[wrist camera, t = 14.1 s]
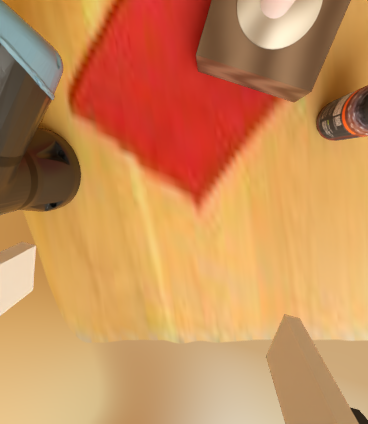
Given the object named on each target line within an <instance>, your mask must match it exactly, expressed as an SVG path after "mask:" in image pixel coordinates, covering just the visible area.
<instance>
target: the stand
mask: <svg viewBox="0 0 368 424" xmlns="http://www.w3.org/2000/svg"><path fill="white" fill-rule="evenodd" d="M260 1H261V0H212V1H211V5H210V8H209V11H208V15H207V18H206V22H205V25H204V29H203V32H202V36H201V39H200V43H199V46H198V49H197V53H196V59H197V66H198V71H199V72H202V73H205V74H208V75H211V76H214V77H217V78H220V79H223V80H226V81H230V82H233V83H236V84H239V85H242V86H245V87H248V88H251V89H254V90H257V91H261V92H264V93H267V94H270V95H273V96H276V97H279V98H282V99H285V100H288V101H291V102H296V101H297V100H299V99H301V98H302V97H304V96H305V95H307V94H308V93H310V92H311V91H312V89H313V86H314V84H315V82H316V79H317V77H318V75H319V72H320V70H321V68H322V66H323V63H324V61H325V59H326V56H327V54H328V52H329V49H330V47H331V45H332V42H333V40H334V38H335V35H336V33H337V31H338V29H339V26H340V24H341V22H342V19H343V17H344V15H345V12H346V10H347V8H348V5H349V3H350V1H351V0H296V1H295V2H294V3H293V4H292V6H291V7H290V8H289V10H288V11H287V12H286V13H285V14H284V15H283V16H281V17H279V18H275V19H273V18H269V17H267V16H266V15H264V13H263V12H262V10H261V5H260Z"/></svg>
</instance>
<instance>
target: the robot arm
mask: <svg viewBox="0 0 368 424" xmlns="http://www.w3.org/2000/svg"><path fill="white" fill-rule="evenodd" d="M62 73H63V63H62V60H61V57H60V55H59V54H58V52H57V51H56V50H55V49H54V48H53V47H52V46H51V45H50V44H49V43H48V42H47V41H46V40H45V39H44V38H43V37H42V36H41V35H40V34H39V33H37V32H36V31H35V30H34V29H33V28H32V27H31V26H30V25H29V24H28V23H26V22H25V21H24V20H23V19H22V18H21V17H20V16H19V15H18V14H17V13H15V12H14V11H13V10H12V9H11V8H10V7H9V6H8V5H7V4H5V3H4V2H3V1H2V0H0V215H2V214H5V213H9V212H12V211H16V210H28V211H51V210H54V209H57V208H60V207H62V206H64V205H66V204H68V203H69V202H70V201H71V200H72V199H73V198H74V196H75V195H76V193H77V191H78V188H79V185H80V178H81V173H80V166H79V162H78V159H77V157H76V155H75V153H74V151H73V149H72V148H71V147H70V145H69V144H68V143H67V142H66V141H65V140H64V139H63V138H62V137H60V136H59V135H57V134H56V133H54V132H51V131H49V130H46V129H40V128H38V126H39V124H40V122H41V120H42V118H43V116H44V114H45V112H46V110H47V108H48V106H49V104H50V102H51V100H54V97H55V96H54V93H55V90H56V87H57V85H58V83H59V80H60V78H61V76H62ZM35 252H36V245H32V244H29V243H25V242H21V243H18V244H17V245H14V246H12V247H10V248H8V249H5V250H3V251H1V252H0V315H2V314H3V313H4V312H6V311H7V310H8V309H9V308H11V307H12V306H13V305H14V304H16V303H17V302H18V301H20V300H21V299H22V298H24V297H25V296H26V295H27V294H29V293H30V292H31V291H32V290H33V282H34V266H35ZM266 358H267V362H268V365H269V368H270V372H271V376H272V379H273V383H274V386H275V389H276V393H277V396H278V400H279V403H280V407H281V410H282V414H283V417H284V420H285V424H368V420H367V419H366V417H365V416H364V415H363V414H362V413H361V412H360V411H359V410H357V409H353V408H350V407H349V405H348V404H347V402H346V400H345V398H344V396H343V395H342V393H341V391H340V389H339V388H338V386H337V384H336V382H335V381H334V379H333V377H332V375H331V373H330V372H329V370H328V368H327V366H326V364H325V363H324V361H323V359H322V357H321V355H320V354H319V352H318V350H317V348H316V347H315V345H314V343H313V341H312V340H311V338H310V336H309V334H308V332H307V331H306V329H305V327H304V325H303V324H302V322H301V320H300V318H296V317H293V316H289V315H285V314H284V317H283V319H282V321H281V323H280V326H279V328H278V330H277V332H276V335H275V337H274V339H273V341H272V344H271V346H270V348H269V351H268V353H267V355H266Z"/></svg>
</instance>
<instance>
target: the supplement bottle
mask: <svg viewBox="0 0 368 424" xmlns="http://www.w3.org/2000/svg"><path fill="white" fill-rule="evenodd" d="M317 129H318V131H319V133H320V134H321V136H323V137H324V138H326V139H328V140H344V139H351V138H357V137H365V136H368V86H365V87H363V88H361V89H359V90H356V91H354V92H352V93H350V94H348V95H346V96H344V97H341V98H339V99H337V100H335V101H333V102H331V103H329V104H328V105H326V106H325V107H324V108H323V109H322V111H321V112H320V114H319V116H318V118H317Z"/></svg>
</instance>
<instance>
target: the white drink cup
mask: <svg viewBox="0 0 368 424" xmlns="http://www.w3.org/2000/svg"><path fill="white" fill-rule="evenodd" d="M295 1H296V0H261V1H260V5H261V10H262V12H263V13H264V15H266V16H267V17H269V18H273V19H275V18H279V17H281V16H283V15H284V14H285V13H286V12H287V11H288V10H289V8H290V7H291V6H292V4H293V3H294V2H295Z"/></svg>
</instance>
